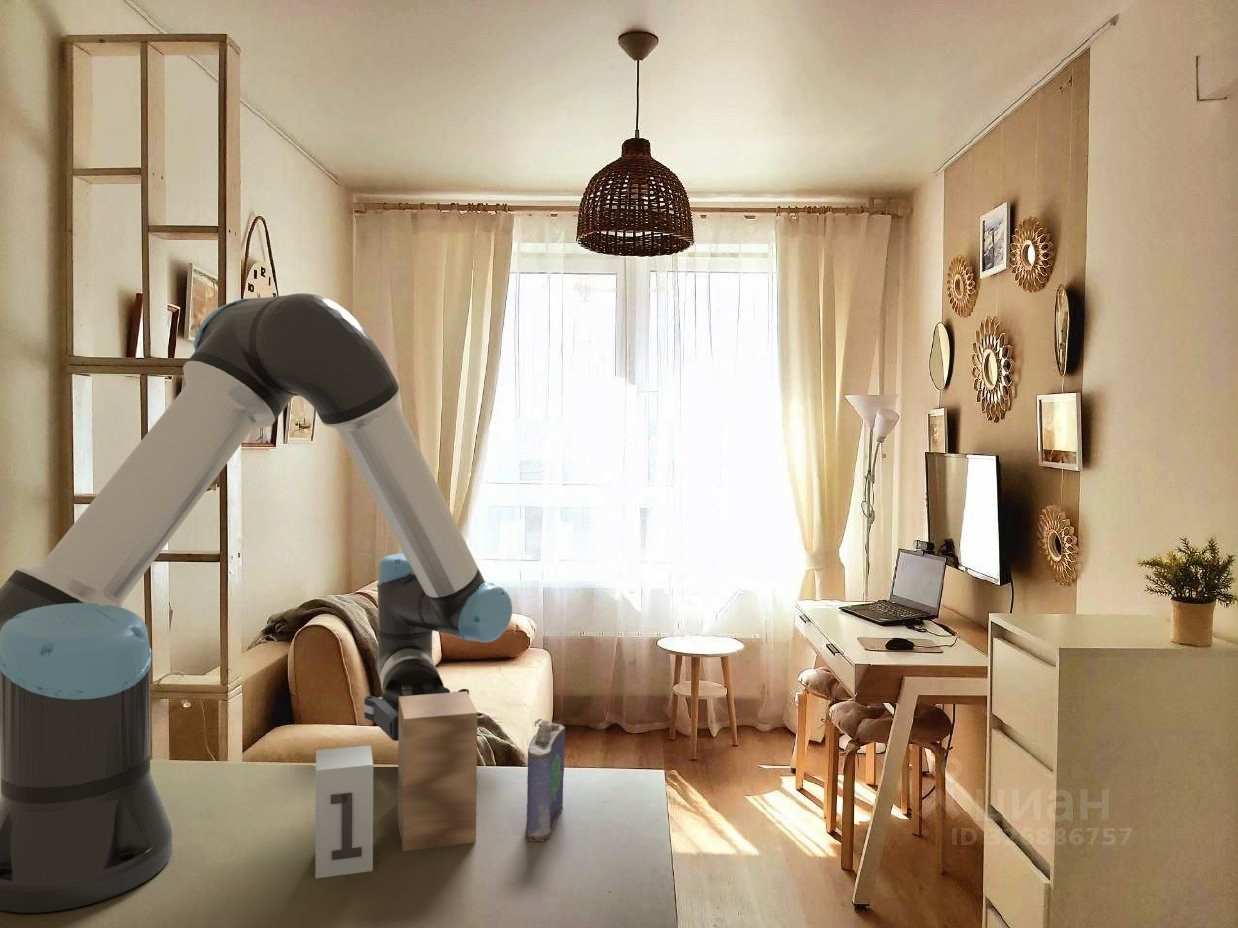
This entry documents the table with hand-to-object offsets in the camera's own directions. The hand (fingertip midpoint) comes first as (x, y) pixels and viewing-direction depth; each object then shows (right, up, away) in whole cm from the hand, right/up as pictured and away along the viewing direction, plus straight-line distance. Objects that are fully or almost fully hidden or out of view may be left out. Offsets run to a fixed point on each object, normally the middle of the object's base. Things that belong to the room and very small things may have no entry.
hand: (433, 750), depth 95 cm
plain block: (+1, -7, -4) cm, 8 cm away
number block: (-6, -7, -11) cm, 14 cm away
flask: (+12, -7, -2) cm, 14 cm away
